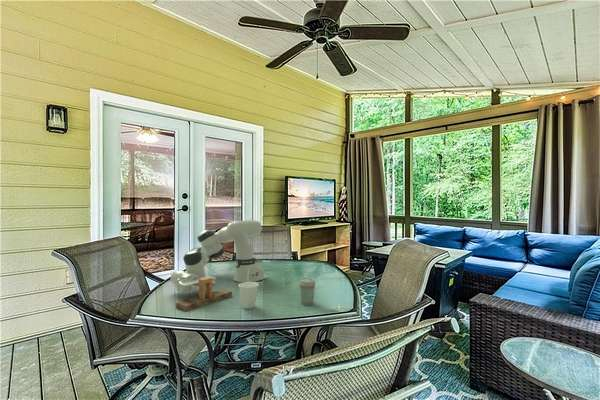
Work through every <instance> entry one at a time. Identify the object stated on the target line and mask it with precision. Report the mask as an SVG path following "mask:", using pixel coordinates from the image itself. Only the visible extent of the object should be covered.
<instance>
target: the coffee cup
mask: <svg viewBox="0 0 600 400" xmlns="http://www.w3.org/2000/svg"><path fill="white" fill-rule="evenodd" d="M298 285H299V294H300V295H299V296H300V304H301V305H303V306H312V305H314V295H315V288H316V281H315V279H314V278H307V277H305V278H301V279H299V283H298Z"/></svg>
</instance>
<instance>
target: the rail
mask: <svg viewBox="0 0 600 400" xmlns="http://www.w3.org/2000/svg"><path fill="white" fill-rule="evenodd" d="M230 297H233V291H231V290H228V289H224V288H221V289H218V290H214V291H212V297H207V296H206V293H205V299H204V300H201V299H199V295H196V296H195V297H190V298H187V299H183V300H180V301H177V302H175V304H176V305H175V308H176V309H179V310H181V311H184V312H188V311H191V310H194V309H198V308H200V307H203V306H207V305H210V304H212V303H215V302H218V301H222V300H224V299H228V298H230Z"/></svg>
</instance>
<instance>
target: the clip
mask: <svg viewBox="0 0 600 400" xmlns="http://www.w3.org/2000/svg"><path fill="white" fill-rule="evenodd" d="M205 283H206V287H205ZM199 286H200V290H198V296H199V299H201V300H204V299H205V294H206V296H207V297H212V292H213V287H214V286H213V278H211V277H205V278H201V279H199Z"/></svg>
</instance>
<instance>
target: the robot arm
mask: <svg viewBox="0 0 600 400" xmlns="http://www.w3.org/2000/svg"><path fill="white" fill-rule="evenodd" d="M262 230H263V227H262V224H261V222H260V221H259V220H251V219H249V220H235V221H231V222H229V223H228V224H227V226H224V227H222V228H220V229H219V230H217V232H215V230H210V229H205V230H202V231H201V232H200V233H199V234H198V236H197V241H198V243H200V245H201V246H198V247H194V248H192V249H191V250H189V252H187V253H185V254H184V256H183V258H182V259H183V263H184V265H185V271H184V270H180V269H178V270H174V271H173V272H172V273H171V275H170V282H171V284H173V285H174V286H175V289H176V292H180V293H187V292H190V291H199V290H200V286H199V279H201V278H205V277H211V278H213V287H215V286H216V284H217V277H216V276H210V275H206V270H205V266H206V265H207V264H208V261H209V259H210V260H217V259H219V258H221V257H222V256H223V255H224V254H225V249H224V246H222V244H226V243H231V242H234V245H235V260H234V261H235V262H234V263H235V265H234V266H235V271H234V276H233V281H234V282H238V283H244V282H259V281H262V280H266V279H268V275H267V274H265V271H264V268H263V267H261V265H259V264H258V263H256V262H258V261H259V258H257V257H256V258H255V257H254V246H253V245H252V244H251V243H250V242H249V240H248V238H251V237H255V236H258V235H260V234H261V233H262ZM205 288H206V283H205Z"/></svg>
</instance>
